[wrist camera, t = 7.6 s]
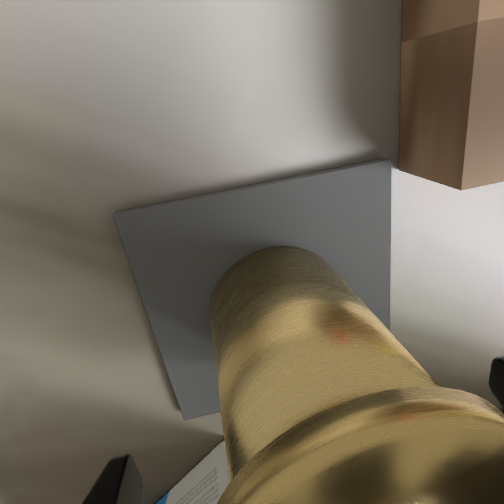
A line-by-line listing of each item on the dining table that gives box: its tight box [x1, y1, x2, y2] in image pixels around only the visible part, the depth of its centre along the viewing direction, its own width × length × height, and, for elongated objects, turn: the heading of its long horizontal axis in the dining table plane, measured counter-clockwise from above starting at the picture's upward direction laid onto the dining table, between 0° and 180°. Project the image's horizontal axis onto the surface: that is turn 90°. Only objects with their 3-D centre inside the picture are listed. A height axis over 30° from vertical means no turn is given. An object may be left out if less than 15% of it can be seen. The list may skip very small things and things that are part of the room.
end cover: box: [209, 246, 504, 504], centre depth 9 cm, size 6×6×8 cm
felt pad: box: [113, 158, 391, 421], centre depth 13 cm, size 9×9×1 cm
